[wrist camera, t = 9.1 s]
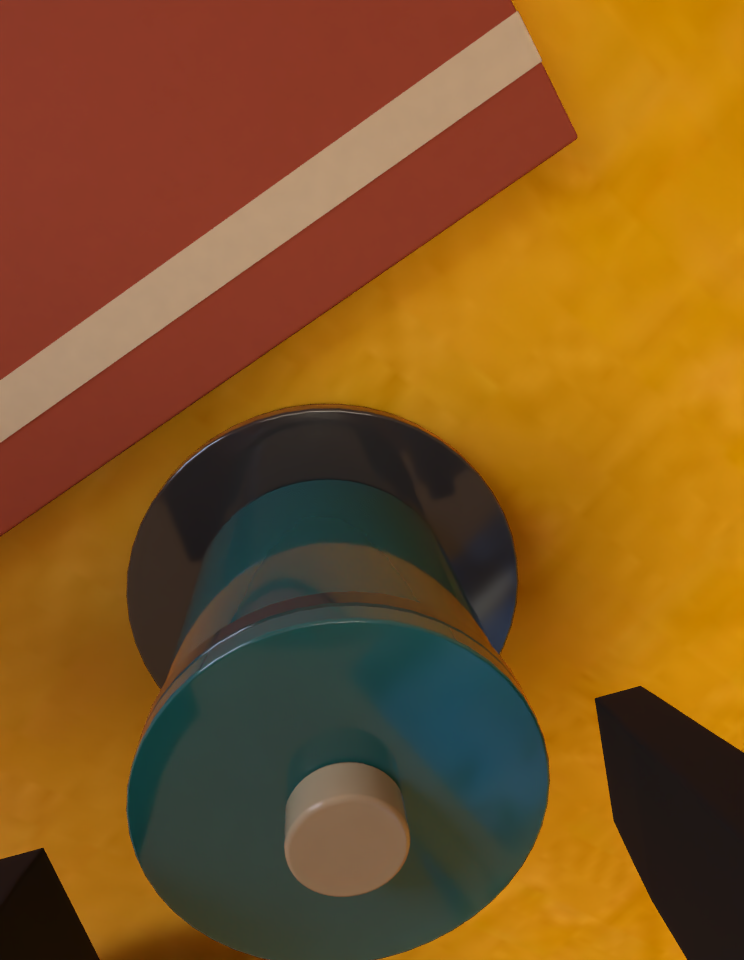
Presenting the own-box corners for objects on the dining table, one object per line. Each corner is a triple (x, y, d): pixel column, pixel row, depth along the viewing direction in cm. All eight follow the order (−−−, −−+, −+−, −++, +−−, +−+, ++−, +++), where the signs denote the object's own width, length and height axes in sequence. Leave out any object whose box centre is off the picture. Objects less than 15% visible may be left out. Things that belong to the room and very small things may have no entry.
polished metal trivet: (282, 807, 17) (281, 822, 17) (46, 550, 15) (38, 560, 14) (576, 624, 17) (584, 636, 16) (382, 321, 14) (385, 323, 14)
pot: (293, 755, 16) (293, 1076, 10) (133, 573, 15) (7, 822, 8) (503, 624, 16) (642, 873, 9) (363, 420, 14) (418, 557, 8)
